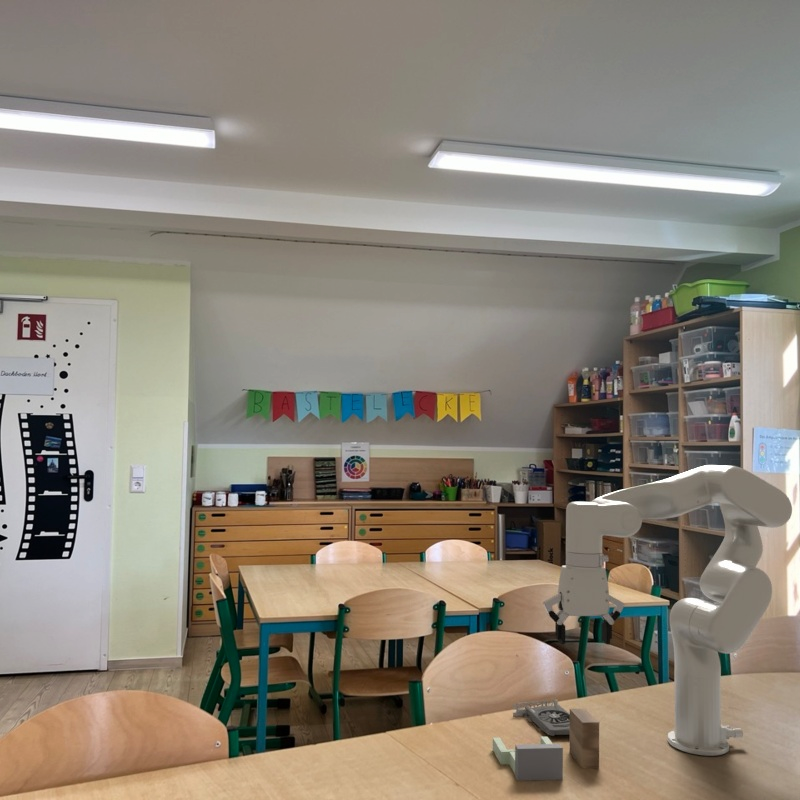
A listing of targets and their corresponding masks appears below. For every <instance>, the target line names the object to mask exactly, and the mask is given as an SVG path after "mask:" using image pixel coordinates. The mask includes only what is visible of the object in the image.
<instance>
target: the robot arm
mask: <svg viewBox="0 0 800 800" xmlns="http://www.w3.org/2000/svg"><path fill="white" fill-rule="evenodd" d="M712 504H720V511H721V515H722V518H723V522H724V527H725V530H724V531H725V534H724V538H723V540H722V542H721V544H720V545H719V547H718V549H717V550H716V552H715V553H714V555H713V556H712V557H711V560H709V563H708V564H707V566H706V567H705V569H704V571H703V572H702V574H701V576H700V578H699V590H700V591H701V592H702V594H703V595H704V596H705V597H707V598H708V599H710V600H711V601H708V600H705V599H701V598H696V597H684V598H681V599H679V600H678V601H677V602H675V603H674V604H673V606H672V607H671V609H670V612H669V628H670V633H671V637H672V638H671V639H672V643H673V653H674V654H673V656H674V657H673V659H674V671H673V674H674V679H673V680H674V681H673V682H674V729H673V730H671V731H669V732H668V733H667V743H668V744H669V745H670V746H672V747H673V748H675V749H678V750H679V751H681V752H685V753H688V754H693V755H698V756H708V757H709V756H710V757H711V756H712V757H715V756H721V755H724V754H727V753H728V752H729V751H730V744H729V742H728V741H727V740H730V738H733V739H735V738H736V739H740V738H741V739H742V738H743V736H744V733H743V730H742V728H739V727H737V728H732V727H731V726H730V725H723V724H722V696H721V695H722V691H721V688H722V686H721V684H722V677H721V675H722V674H721V673H722V671H721V670H722V669H721V668H722V667H721V659H720V656H719V653H721V654H734V653H736V652H738V651H739V650H740V649H742V648H743V646H744V645H745V644H746V642H748V640H749V638H750V637H751V635H752V633H753V632H754V630H755V629H756V627H757V625H758V624H759V622H760V621H761V619H762V617H763V616H764V614H765V612H766V611H767V609H768V607H769V605H770V603H771V600H772V594H773V587H772V582H771V579H770V577H769V575H768V574H767V573H766V572H765V571H764V570H763V569H761V568H758V567H757V566H758V563H759V561H760V560H761V558H762V555H763V549H764V548H763V547H764V546H763V540H762V537H761V533H760V530H759V527H764V528H779V527H782V526H784V525H786V524H787V523H788V522H789V520H790V519H791V517H792V513H793V507H792V502H791V500H790V498H789V497H788V495H787V494H786V493H785V492H784V491H782V490H781V489H779V488H777V487H776V486H774V485H773V484H771V483H769V482H768V481H766V480H764V479H763V478H760V477H759V476H757V475H755V474H754V473H753V472H750V471H748V469H747V470H746V469H745V468H742V467H740V466H737V465H718V464H706V465H702V466H698V467H696V468H692V469H689V470H688V471H684V472H682V473H678V474H675V475H673V476H671V477H668V478H664V479H661V480H657V481H652V482H648V483H645V484H641V485H637V486H632V487H628V488H623V489H619V490H616V491H613V492H609V493H607V494H604V495H602V496H599V497H596V498H594V499H592V500H591V501H571V502H569V503H568V504H567V505H566V509H565V565H561V569H560V572H559V578H558V579H559V581H558V590H557V594H555V595H554V596H552V597H550V598H548V599H545V600H544V601H542V602H543V603H542V605H543V607H544V609H545V611H546V614H547V615H548V616H549V617H550V619H552V620H553V621H554V622H555V629H554V630H555V632H554V633H555V635H554V636H555V639H556V640H557V642H558V643H559V644H561V645H566V625H565V624H564V623H565V621H566V620H567V619H568V618H569V617H570V616H571V617H601V618H602V620H603V621H602V622H601V625H600V627H601V629H600V633H601V635H600V637H601V641H602V642H603V643H605V644H607V645H611V640H612V638H613V625H614V624H615V621H616V620H617V619H619V617H620V616H621V612H623V609H624V607H625V603H624V602H623V601H621V600H619V599H618V598H615V597H613V596H612V595H610V594H609V593H610V591H609V582H608V575H607V570H606V568H605V566H604V563H606V562H609V555H607V554H604V552H603V536H609V537H614V538H616V537H617V538H628V537H632V536H634V535H635V534H637V533H638V532H639V531H640V529H641V527H642V523H643V520H652V519H653V520H654V519H655V520H657V519H658V520H661V519H662V520H665V519H670V518H677V517H681V516H682V515H685V514H687V513H690V512H694V511H695V510H699V509H700V508H704V507H707V506H710V505H712ZM712 601H715V602H717V603H719V604H717V603H714V602H712ZM610 603H611V604H613V605H614V607H613V609H612V611H611V612H610ZM555 605H556V606H557V609H558V612H557V613H556V612H555V611H554V608H553V606H555Z"/></svg>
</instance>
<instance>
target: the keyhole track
mask: <svg viewBox="0 0 800 800" xmlns="http://www.w3.org/2000/svg"><path fill="white" fill-rule="evenodd" d="M514 747H515V748H514V749H507V747H506V746H505V743H504V742H503V741H502V739H501V737H499V736H498V737H492V751H493V753H494V754H495V757H496V759H497V760H498V762H499V763H500V765H509V766H510V768H511V771H513V773H514V777H515V779H516V781H520V782H521V781H551V780H552V781H553V780H555V781H557V780H560V781H561V780H564V776H563V775H564V773H563V772H564V766H563V765H564V751H563V750H564V748H563V746H562V745H561V743H553V742H552V740H551V739H550V738H549V737H548V736H540V743H538V744H537V743H535V744H531V743H530V744H515V746H514Z"/></svg>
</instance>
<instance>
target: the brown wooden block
mask: <svg viewBox="0 0 800 800" xmlns="http://www.w3.org/2000/svg"><path fill="white" fill-rule="evenodd" d="M569 714H570V734H569V754H571V756H572V757H573V758H574V760H576V762H577V763H578V764H579V766H580V767H581V768H582V769H596V768H598V769H599V768H600V721H598V720H597V718H596V717H595V716H593V715H592V713H591V712H590V711H589V710H587V708H569Z"/></svg>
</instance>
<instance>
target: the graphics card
mask: <svg viewBox="0 0 800 800" xmlns="http://www.w3.org/2000/svg"><path fill="white" fill-rule="evenodd" d="M558 703H559V702H558V699H549V700H548V699H547V700H537V701H528V702H517V703H515V704H514V705H512V710H516V711H514V712H513V713H512V716H513V717H523V716H526V719H527V718H528V719H527V720H528V721H529V723H530V722H534V724H535V725H537V727H538V728H539V729H541V730H542V731H543V732H544V733H546V734H547V735H548V736H552V737H554V736H555V735H558V736H559V735H569V736H570V712H568V711H567V710H566V709H565V708H563V707H562V706H561V705H560V704H558ZM531 704H532V705H531ZM540 704H541V705H540ZM532 706H533V707H532ZM521 715H522V716H521ZM529 719H530V720H529Z"/></svg>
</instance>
